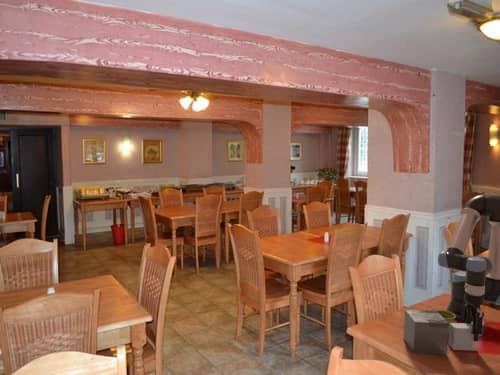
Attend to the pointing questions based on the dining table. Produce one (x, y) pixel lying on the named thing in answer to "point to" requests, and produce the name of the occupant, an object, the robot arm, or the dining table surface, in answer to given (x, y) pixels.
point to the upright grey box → (460, 336)
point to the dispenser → (426, 332)
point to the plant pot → (447, 316)
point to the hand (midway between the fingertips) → (470, 343)
